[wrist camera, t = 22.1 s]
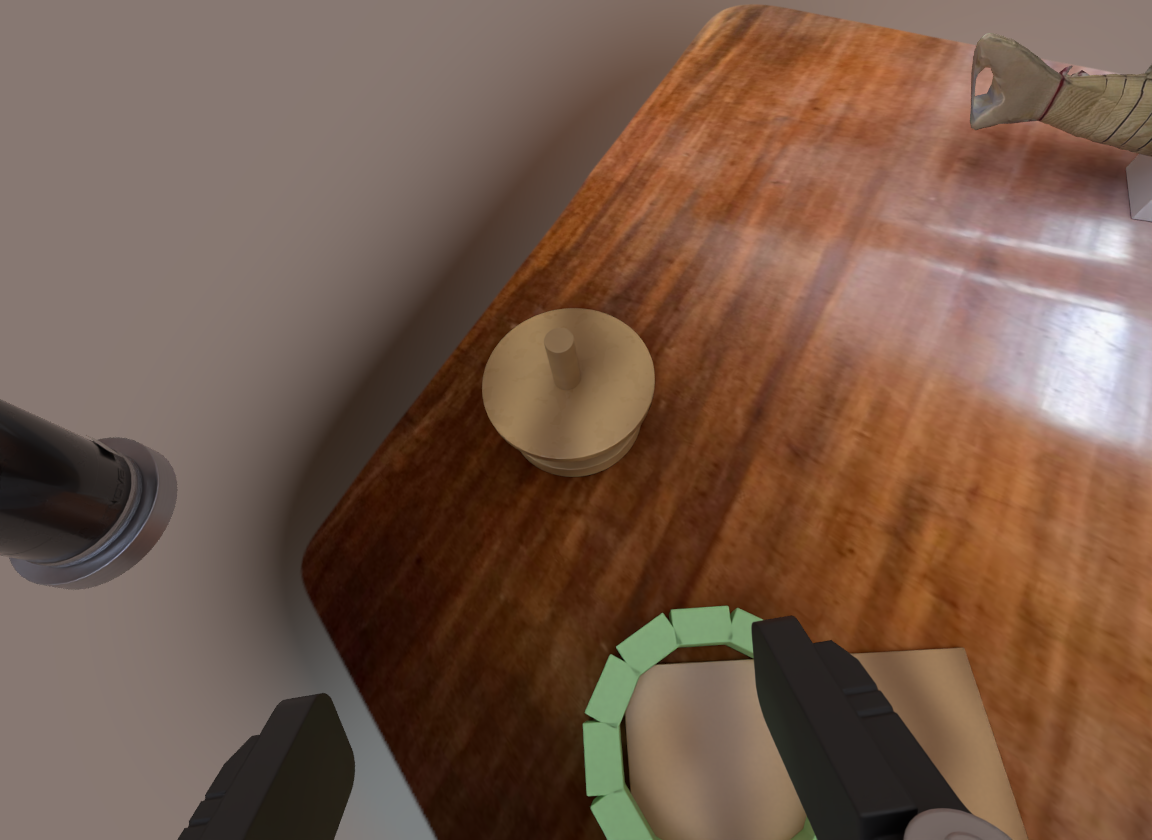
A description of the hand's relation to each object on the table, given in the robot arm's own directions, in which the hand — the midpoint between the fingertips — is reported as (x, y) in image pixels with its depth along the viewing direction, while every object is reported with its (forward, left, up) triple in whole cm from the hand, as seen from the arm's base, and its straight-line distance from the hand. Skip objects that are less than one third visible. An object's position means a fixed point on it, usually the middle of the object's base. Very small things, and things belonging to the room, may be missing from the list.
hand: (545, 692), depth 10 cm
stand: (-1, +19, -25) cm, 32 cm away
